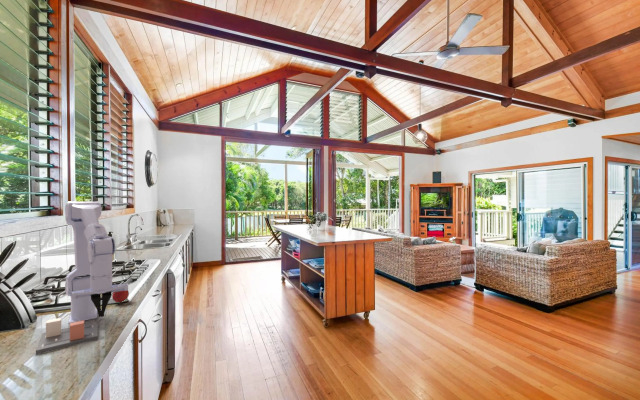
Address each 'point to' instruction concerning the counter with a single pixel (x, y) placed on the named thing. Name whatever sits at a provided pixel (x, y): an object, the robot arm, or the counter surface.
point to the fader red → (76, 330)
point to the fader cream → (53, 327)
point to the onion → (120, 296)
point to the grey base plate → (66, 339)
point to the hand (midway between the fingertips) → (101, 316)
